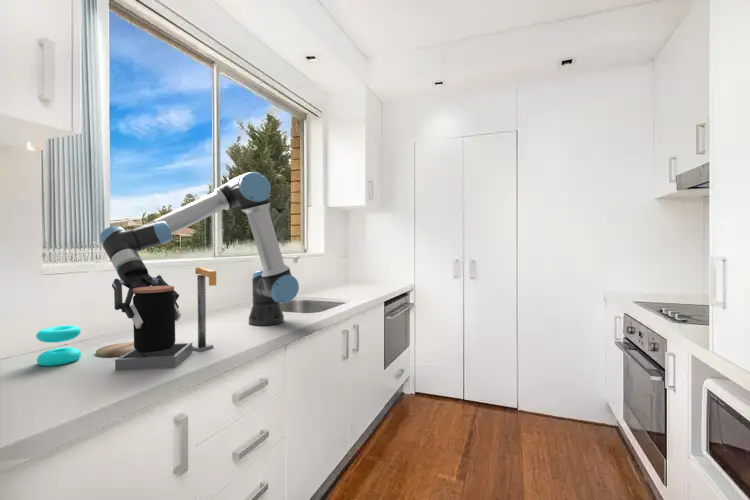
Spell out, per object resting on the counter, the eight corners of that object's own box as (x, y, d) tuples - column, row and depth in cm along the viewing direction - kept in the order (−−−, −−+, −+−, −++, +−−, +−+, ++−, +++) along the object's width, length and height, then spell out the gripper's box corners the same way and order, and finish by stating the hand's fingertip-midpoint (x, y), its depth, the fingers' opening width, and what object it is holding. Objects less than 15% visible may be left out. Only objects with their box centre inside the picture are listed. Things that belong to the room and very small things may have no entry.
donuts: (75, 330, 108) (30, 333, 104) (75, 364, 108) (30, 369, 104) (84, 323, 117) (43, 326, 113) (84, 355, 117) (44, 359, 113)
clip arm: (194, 280, 125) (194, 267, 125) (206, 279, 127) (206, 267, 127) (206, 285, 107) (206, 271, 107) (219, 285, 109) (219, 270, 109)
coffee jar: (137, 345, 114) (136, 286, 114) (177, 341, 118) (175, 284, 118) (130, 355, 104) (128, 290, 104) (173, 350, 109) (172, 288, 108)
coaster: (158, 343, 132) (158, 340, 132) (139, 355, 117) (139, 353, 117) (110, 345, 129) (110, 342, 129) (85, 358, 114) (85, 355, 114)
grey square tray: (192, 352, 121) (192, 342, 121) (175, 367, 105) (175, 356, 105) (140, 354, 118) (139, 345, 118) (115, 370, 103) (115, 359, 103)
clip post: (203, 345, 128) (203, 274, 128) (213, 347, 126) (212, 274, 125) (190, 349, 124) (189, 275, 123) (199, 351, 121) (199, 275, 121)
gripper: (162, 272, 129) (191, 322, 121) (82, 278, 109) (112, 338, 101) (170, 257, 126) (201, 307, 118) (91, 260, 106) (121, 320, 98)
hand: (160, 321), depth 110 cm, fingers closed on coffee jar, 11 cm apart
